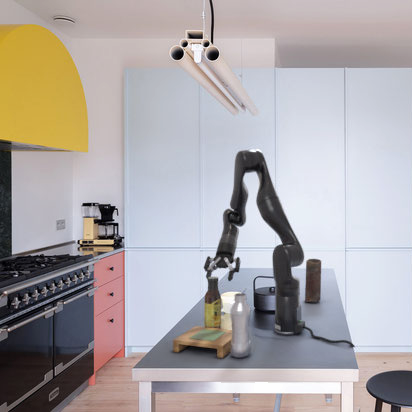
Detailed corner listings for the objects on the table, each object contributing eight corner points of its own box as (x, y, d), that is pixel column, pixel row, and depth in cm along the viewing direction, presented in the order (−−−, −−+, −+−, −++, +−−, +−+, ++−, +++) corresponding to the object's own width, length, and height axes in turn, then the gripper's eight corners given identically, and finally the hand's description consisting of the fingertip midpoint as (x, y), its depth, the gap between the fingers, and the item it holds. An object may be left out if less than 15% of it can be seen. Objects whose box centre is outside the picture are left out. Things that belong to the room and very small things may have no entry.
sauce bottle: (217, 332, 155) (216, 280, 154) (201, 331, 156) (201, 279, 155) (224, 327, 161) (223, 276, 160) (209, 325, 162) (208, 275, 161)
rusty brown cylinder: (321, 300, 199) (322, 258, 198) (320, 304, 192) (320, 261, 191) (306, 299, 201) (306, 258, 200) (303, 303, 193) (304, 261, 192)
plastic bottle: (230, 352, 137) (230, 292, 136) (251, 351, 137) (251, 291, 136) (228, 360, 130) (228, 297, 129) (250, 359, 131) (250, 297, 130)
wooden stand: (241, 342, 145) (241, 330, 145) (222, 358, 132) (222, 345, 132) (195, 336, 150) (195, 325, 150) (173, 351, 137) (173, 339, 137)
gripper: (208, 241, 174) (198, 274, 163) (241, 241, 172) (234, 275, 161) (212, 251, 179) (203, 284, 168) (245, 252, 178) (238, 285, 167)
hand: (218, 279), depth 165 cm, fingers open, 8 cm apart
